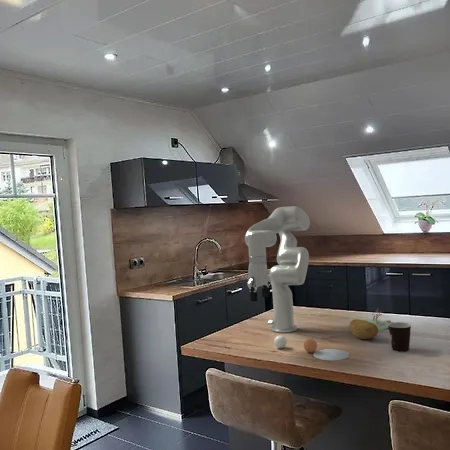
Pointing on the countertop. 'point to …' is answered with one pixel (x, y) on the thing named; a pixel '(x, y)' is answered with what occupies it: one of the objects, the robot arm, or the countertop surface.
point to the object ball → (310, 345)
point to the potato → (363, 329)
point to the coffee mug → (399, 336)
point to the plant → (378, 321)
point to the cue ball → (280, 341)
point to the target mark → (331, 354)
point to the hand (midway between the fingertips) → (260, 299)
